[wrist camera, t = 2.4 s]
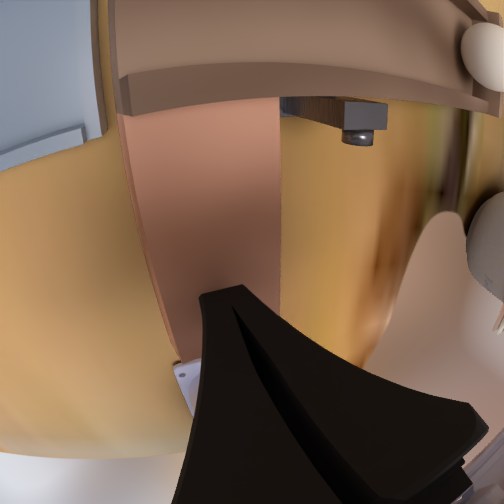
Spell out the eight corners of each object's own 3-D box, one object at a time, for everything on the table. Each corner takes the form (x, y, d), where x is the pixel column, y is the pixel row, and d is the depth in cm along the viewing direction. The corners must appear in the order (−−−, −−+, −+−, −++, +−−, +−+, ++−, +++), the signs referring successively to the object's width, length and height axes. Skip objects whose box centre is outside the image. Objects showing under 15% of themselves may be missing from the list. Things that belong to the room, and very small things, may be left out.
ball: (474, 87, 13) (530, 104, 10) (449, 77, 11) (516, 95, 8) (473, 29, 11) (530, 41, 8) (447, 10, 9) (515, 19, 6)
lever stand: (329, 120, 15) (404, 145, 10) (259, 124, 14) (320, 148, 9) (321, -55, 9) (392, -86, 5) (249, -68, 8) (303, -118, 4)
